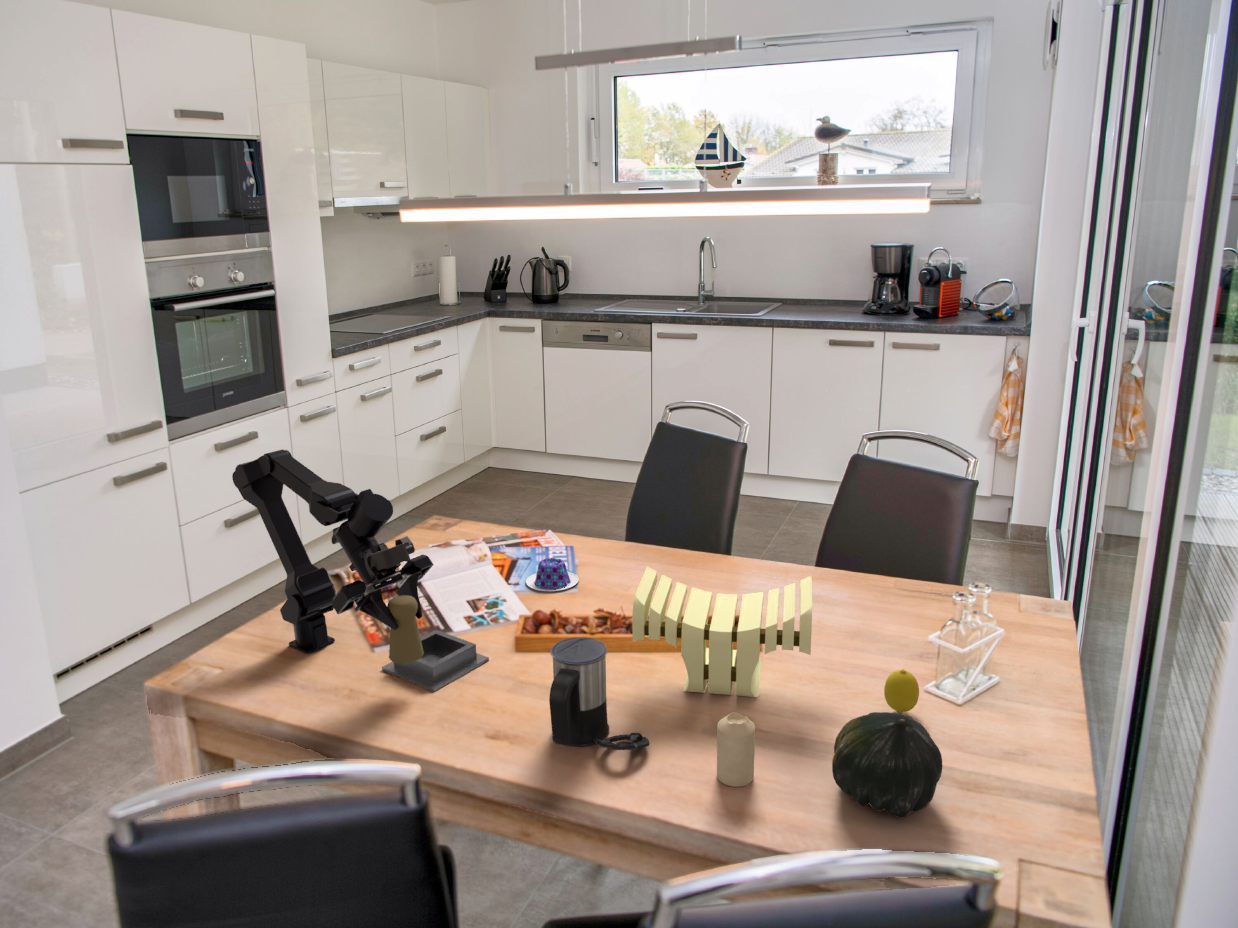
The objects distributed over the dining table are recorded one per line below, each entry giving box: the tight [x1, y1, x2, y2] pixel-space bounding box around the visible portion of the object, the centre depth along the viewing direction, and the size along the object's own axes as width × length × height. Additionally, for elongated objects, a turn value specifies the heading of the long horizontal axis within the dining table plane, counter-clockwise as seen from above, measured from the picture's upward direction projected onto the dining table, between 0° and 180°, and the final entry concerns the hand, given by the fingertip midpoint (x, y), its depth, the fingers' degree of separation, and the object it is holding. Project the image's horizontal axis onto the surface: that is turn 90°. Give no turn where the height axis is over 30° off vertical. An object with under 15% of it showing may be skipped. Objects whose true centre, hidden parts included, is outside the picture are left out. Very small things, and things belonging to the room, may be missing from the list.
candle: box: [716, 711, 756, 788], centre depth 135 cm, size 6×6×10 cm
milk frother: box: [548, 636, 650, 751], centre depth 144 cm, size 14×16×15 cm
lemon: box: [883, 668, 920, 714], centre depth 151 cm, size 6×6×8 cm
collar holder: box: [381, 629, 490, 693], centre depth 171 cm, size 14×14×4 cm
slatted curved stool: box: [631, 565, 813, 698], centre depth 162 cm, size 30×16×18 cm, turn 79°
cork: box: [386, 595, 424, 663], centre depth 160 cm, size 6×6×11 cm
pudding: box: [525, 557, 579, 592], centre depth 207 cm, size 12×12×5 cm
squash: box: [831, 711, 943, 819], centre depth 129 cm, size 14×15×15 cm
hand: (408, 623), depth 159 cm, fingers closed on cork, 5 cm apart
